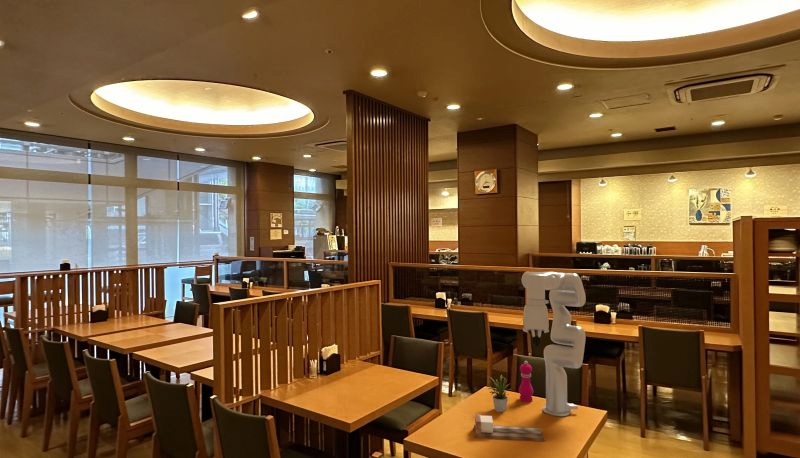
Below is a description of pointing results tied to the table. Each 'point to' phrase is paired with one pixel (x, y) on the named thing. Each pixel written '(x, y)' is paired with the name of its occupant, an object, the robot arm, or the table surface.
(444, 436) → the table surface
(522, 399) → the pepper mill
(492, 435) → the rail board
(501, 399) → the house plant
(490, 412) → the table surface
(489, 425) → the block
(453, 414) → the table surface
